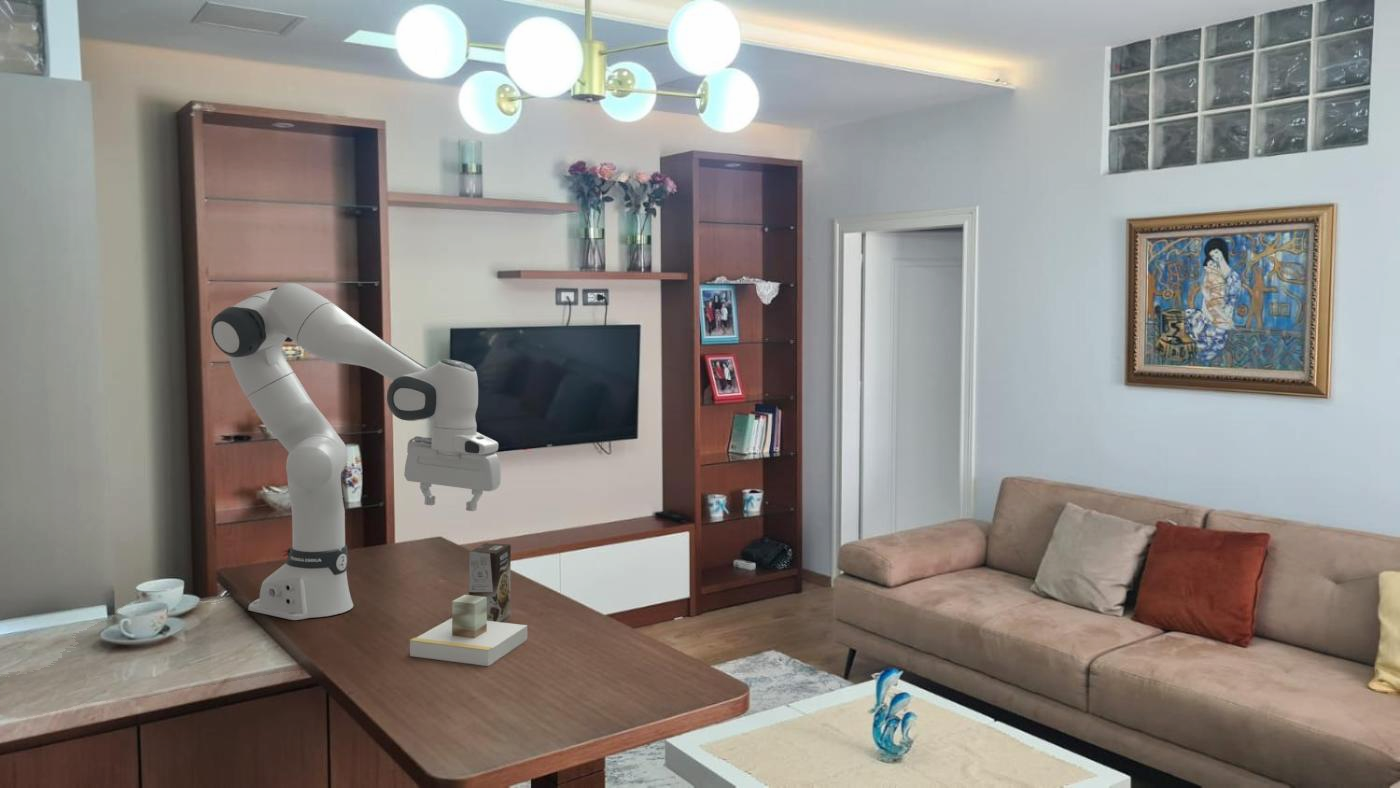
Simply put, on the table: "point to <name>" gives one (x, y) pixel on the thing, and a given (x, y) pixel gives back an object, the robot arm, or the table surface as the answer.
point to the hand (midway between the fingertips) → (450, 507)
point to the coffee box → (491, 578)
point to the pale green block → (469, 616)
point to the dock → (469, 643)
